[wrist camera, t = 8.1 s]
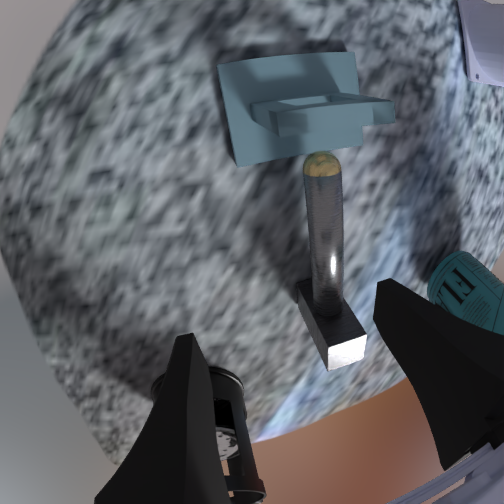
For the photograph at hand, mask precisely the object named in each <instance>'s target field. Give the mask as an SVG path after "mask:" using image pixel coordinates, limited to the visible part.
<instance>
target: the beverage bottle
mask: <svg viewBox="0 0 504 504" xmlns="http://www.w3.org/2000/svg"><path fill="white" fill-rule="evenodd" d="M427 295H428V298H429V301H430V302H431V303H433V304H435V305H436V306H438V307H440V308H442V309H443V310H445V311H447V312H449V313H451V314H453V315H455V316H457V317H459V318H461V319H463V320H465V321H467V322H469V323H472V324H474V325H476V326H479V327H481V328H484V329H486V330H489V331H492V332H495V333H498V334H501V335H504V284H503V283H502V282H501V281H500V280H499V279H498V278H496V277H495V276H494V275H493V274H492V272H491V271H490V270H489V269H487V268H486V267H485V266H483V265H482V263H481V262H479V261H478V260H477V259H476V258H474V257H473V256H472V255H471V254H470V253H468V252H465V251H456V252H454V253H452V254H450V255H449V256H447V257H446V258H445V259H444V260H443V261H442V262H441V263H440V264H439V265H438V266H437V268H436V269H435V271H434V272H433V274H432V276H431V278H430V280H429V283H428V287H427Z"/></svg>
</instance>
